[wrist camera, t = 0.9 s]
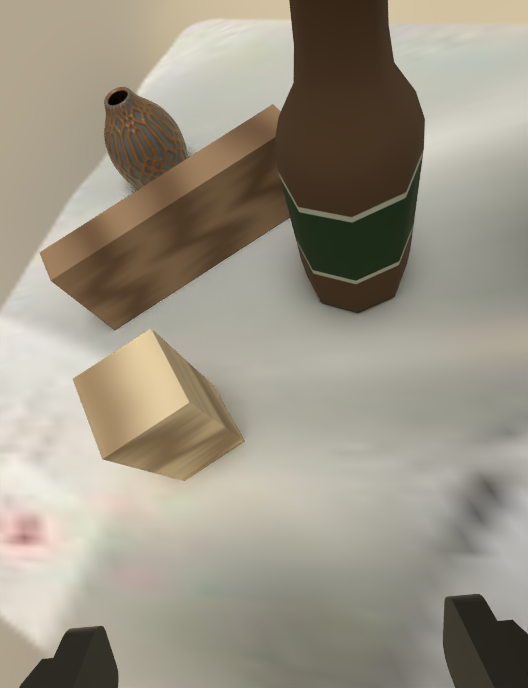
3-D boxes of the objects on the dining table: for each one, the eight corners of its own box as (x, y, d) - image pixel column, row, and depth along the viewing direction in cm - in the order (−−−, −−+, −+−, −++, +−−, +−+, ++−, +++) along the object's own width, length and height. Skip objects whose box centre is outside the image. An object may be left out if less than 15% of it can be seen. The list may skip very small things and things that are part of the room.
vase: (124, 205, 42) (68, 130, 34) (142, 153, 44) (93, 73, 36) (188, 202, 40) (143, 123, 32) (203, 148, 42) (164, 62, 34)
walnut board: (291, 184, 38) (272, 104, 30) (309, 204, 36) (294, 124, 29) (103, 305, 37) (39, 252, 30) (114, 330, 36) (50, 280, 29)
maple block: (213, 385, 32) (151, 328, 23) (244, 441, 29) (189, 402, 20) (157, 421, 31) (72, 379, 22) (184, 480, 29) (102, 459, 20)
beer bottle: (413, 311, 30) (513, -217, 9) (306, 319, 32) (172, -106, 11) (402, 225, 33) (457, -321, 12) (305, 236, 35) (200, -222, 14)
